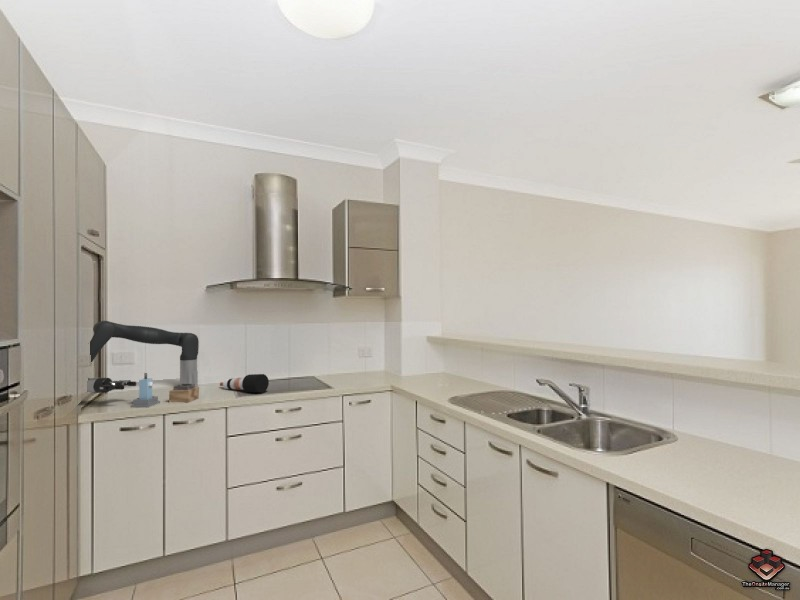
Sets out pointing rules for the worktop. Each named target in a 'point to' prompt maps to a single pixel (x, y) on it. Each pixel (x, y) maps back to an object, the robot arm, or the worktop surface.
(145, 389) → the plug
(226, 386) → the black and white bottle
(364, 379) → the worktop surface
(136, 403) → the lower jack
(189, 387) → the upper stand
